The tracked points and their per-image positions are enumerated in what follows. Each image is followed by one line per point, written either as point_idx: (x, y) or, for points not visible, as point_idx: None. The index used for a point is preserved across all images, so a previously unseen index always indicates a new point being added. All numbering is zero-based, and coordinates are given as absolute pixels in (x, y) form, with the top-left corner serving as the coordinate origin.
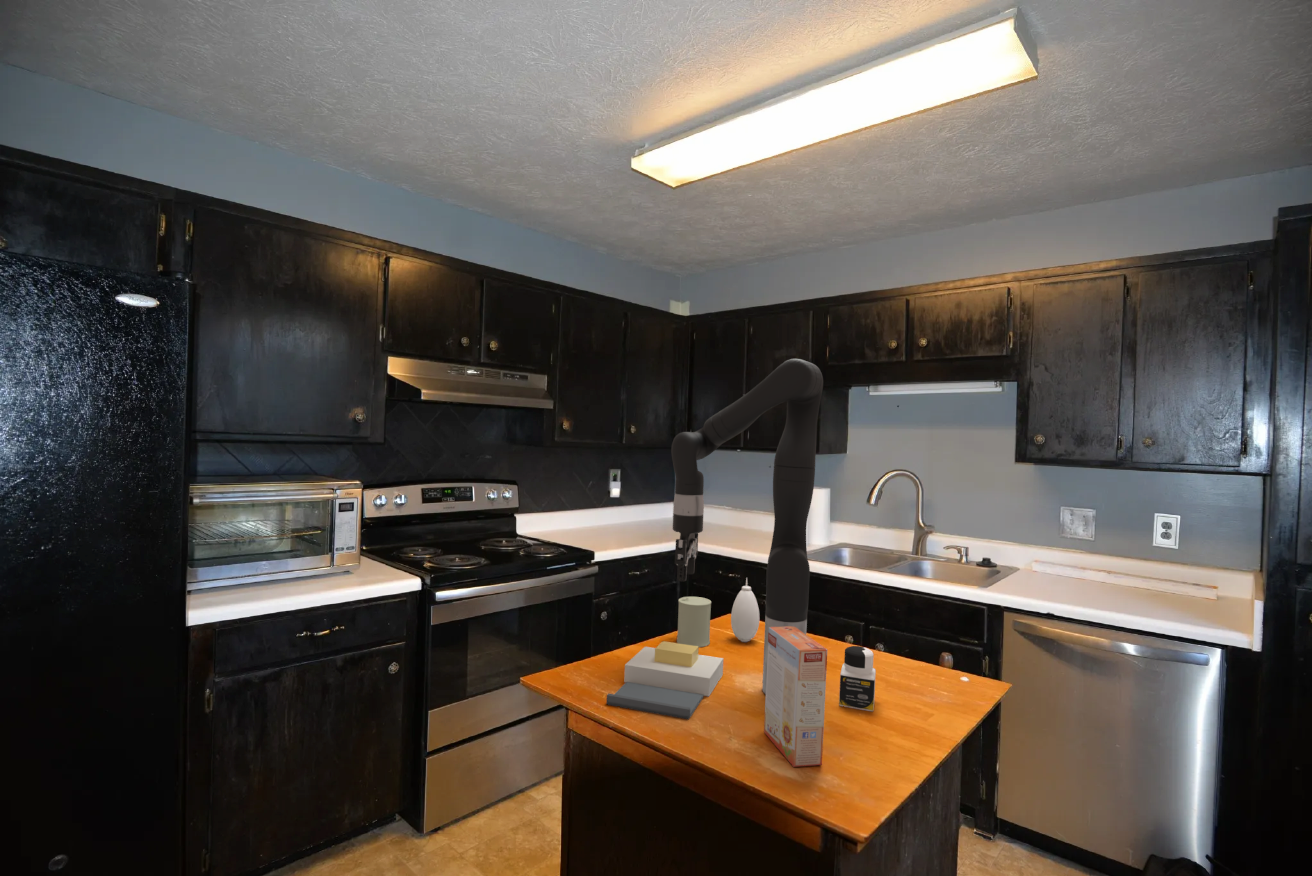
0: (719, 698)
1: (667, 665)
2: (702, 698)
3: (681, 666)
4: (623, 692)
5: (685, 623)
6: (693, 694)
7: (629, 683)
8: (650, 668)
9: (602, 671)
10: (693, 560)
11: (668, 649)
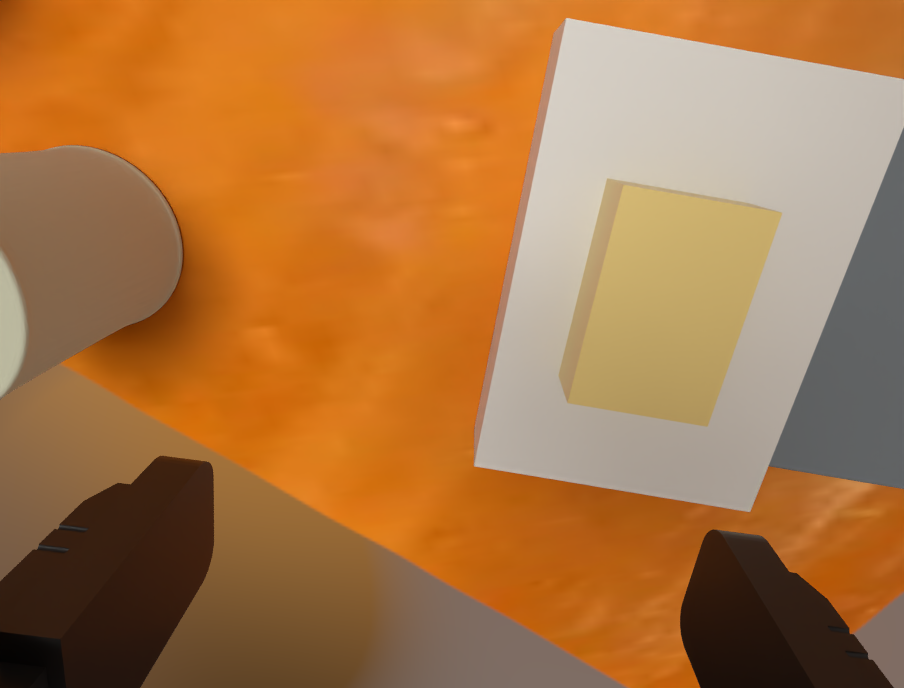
0: (880, 30)
1: None
2: None
3: None
4: (865, 457)
5: (109, 312)
6: None
7: None
8: (789, 401)
9: (613, 560)
10: (63, 647)
11: (712, 356)
